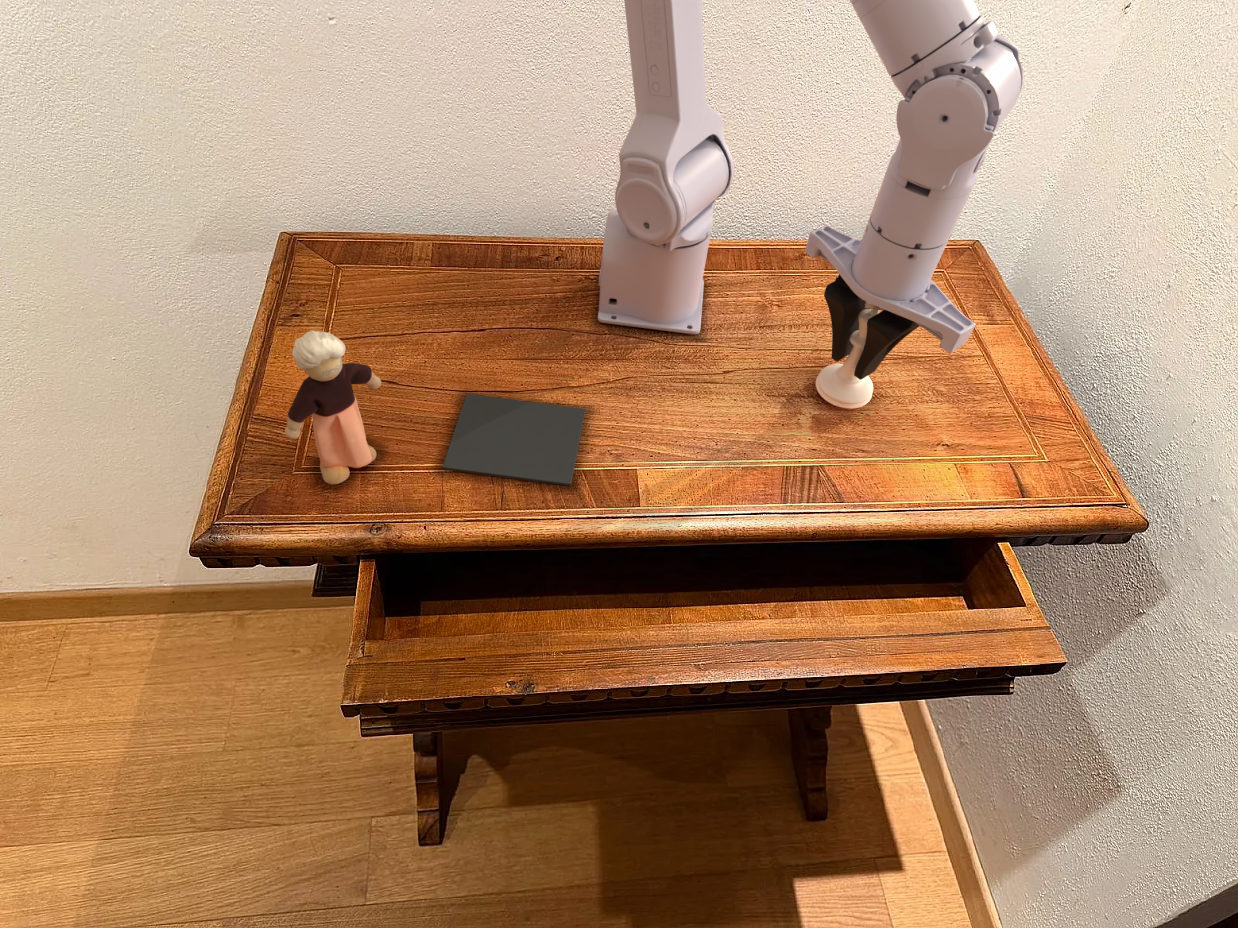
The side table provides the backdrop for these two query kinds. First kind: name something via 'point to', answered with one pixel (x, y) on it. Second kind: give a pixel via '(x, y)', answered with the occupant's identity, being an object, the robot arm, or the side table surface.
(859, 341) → the chess piece
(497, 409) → the felt mat
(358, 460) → the grandmother figurine
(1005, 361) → the side table surface
